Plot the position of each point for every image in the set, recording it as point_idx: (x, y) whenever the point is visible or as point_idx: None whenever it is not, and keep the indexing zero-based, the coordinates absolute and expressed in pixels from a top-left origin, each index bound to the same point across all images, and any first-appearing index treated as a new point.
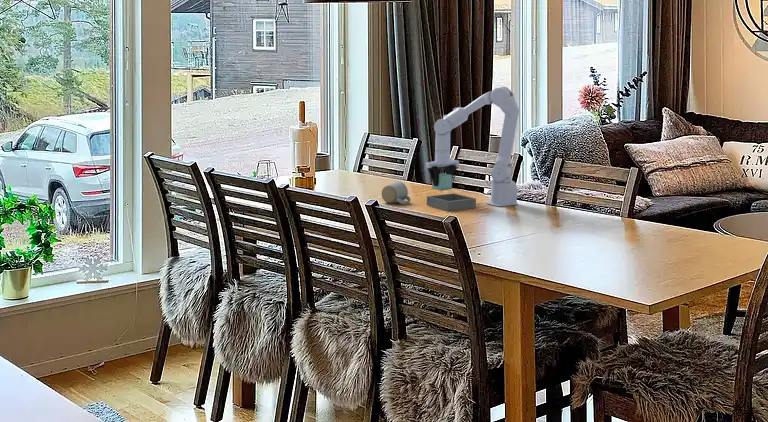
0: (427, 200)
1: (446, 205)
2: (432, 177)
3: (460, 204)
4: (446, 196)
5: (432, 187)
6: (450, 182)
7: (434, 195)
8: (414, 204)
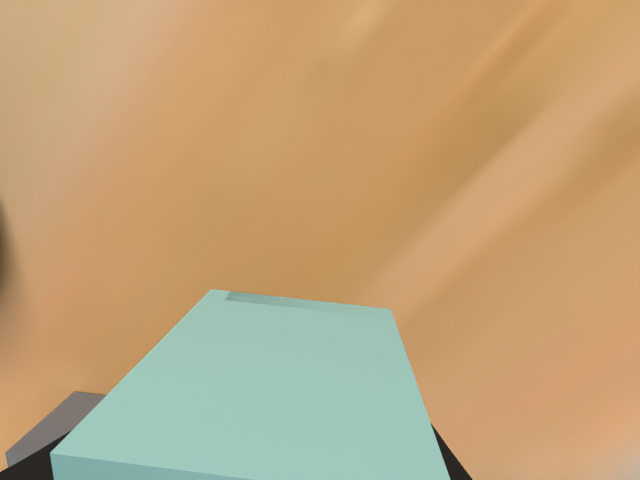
0: (41, 429)
1: None
2: (45, 471)
3: None
4: None
5: (206, 301)
6: None
7: None
8: (13, 311)
